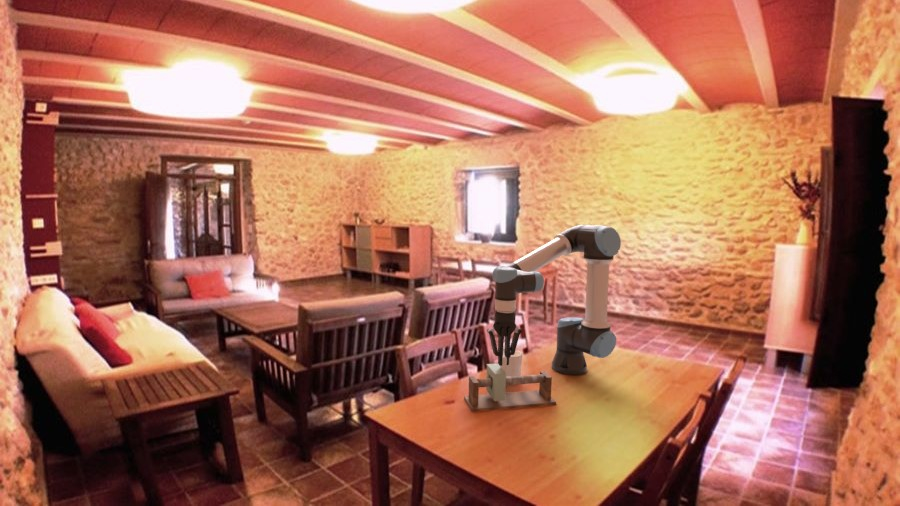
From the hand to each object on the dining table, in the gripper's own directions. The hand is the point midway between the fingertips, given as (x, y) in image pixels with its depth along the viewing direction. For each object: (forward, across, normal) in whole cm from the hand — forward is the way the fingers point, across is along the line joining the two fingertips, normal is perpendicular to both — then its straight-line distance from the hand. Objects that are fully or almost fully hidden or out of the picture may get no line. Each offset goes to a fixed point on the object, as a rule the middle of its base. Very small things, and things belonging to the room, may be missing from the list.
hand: (503, 373), depth 163 cm
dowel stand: (+11, -3, 0) cm, 11 cm away
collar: (+8, +3, 0) cm, 8 cm away
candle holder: (+11, -10, -19) cm, 24 cm away
